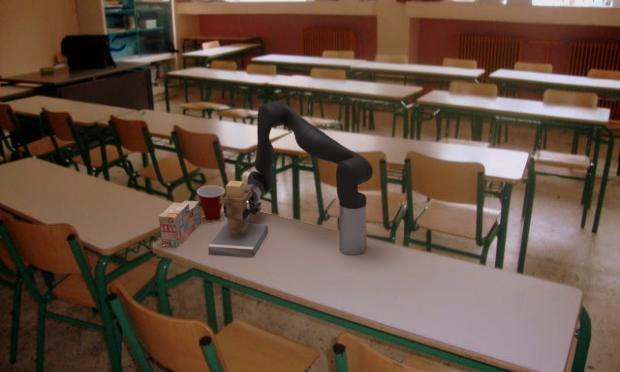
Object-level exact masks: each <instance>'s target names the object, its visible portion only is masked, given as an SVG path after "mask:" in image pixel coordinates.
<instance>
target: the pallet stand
mask: <svg viewBox="0 0 620 372" xmlns="http://www.w3.org/2000/svg"><path fill="white" fill-rule="evenodd" d="M251 195H252V190H251V189H245V195H244V196H243V198H242V199H239V198H227V195H226V190H225V192H224V193H223V194H222V195H221V197H220V198H219V201H220V203H221V204H223V205H224V204H226V208H227V222H228V231H229V233H242V234H244V232H245V231H246V229H247V228H248V224H249V219H248V218H249V216H248V217H247V218H245V219H243V212H244V211H245V209H246V208H247V201H248V200H249V198H250V197H251Z"/></svg>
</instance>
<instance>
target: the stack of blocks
mask: <svg viewBox="0 0 620 372" xmlns="http://www.w3.org/2000/svg"><path fill="white" fill-rule="evenodd" d="M200 207H201V206H200V201H199V200H198V201H197V200H184V201H182V202H172V203H171V204H170V205H169V206H168V207H167V208H166V209H165V210H164V211H163V212H161V213H160V214H159V215H158V222H159V229H160V235H161V243H162V245H165V246H170V247H169V248H177V247H178V248H179V247H181V245H182V244H184V242H186V240H188V238H189V237H190V234H191V235H192V233H194V231H196V229H197V228H199V226H200V225H201V224H202V216H201V215H202V214H201V208H200ZM165 246H164V247H165Z"/></svg>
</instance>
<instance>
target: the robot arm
mask: <svg viewBox="0 0 620 372" xmlns="http://www.w3.org/2000/svg"><path fill="white" fill-rule="evenodd" d="M256 122H257V123H256V125H257V126H256V127H257V128H256V129H257V130H256V131H257V132H256V134H257V135H256V137H257V146H256V147H257V148H256V153H255V158H254V159H255V160H254V169H255V170H256V171H255V170H254V171H251V172H250V173H249V174H248V176H247V183H246V185H244V189H251V190H252V195H251V197H250V198H249V200H248V201H247V208H246V209H245V211H244V212H243V219H245V218H247V217H248V218H249V216H251V215H253V216H255V215H256V214H257V213H259V212H260V211H261V210H262V202H261V201H259V200H260V198H261V196H262V195H263V193H268V192H270V191H271V190H272V189H273V187H274V176H273V163H274V159H275V150H274V146H273V144H272V142H271V140H270V135H271V131H272V129H273V128H277V127H280V126H284V127H286V128H287V129H289V130H290V131H291V132H293V135H294V139H295V142H296V144H297V146H298V147H299V148H300V149H302V151H304V152H305V153H307V154H308V155H309V156H310V157H313V158H316V159H318V160H322V161H326V162H329V163H334V164H336V165H337V166H336V169H335V170H336V171H335V179H336V181H335V182H336V195H337V199H338V207H339V209H338V211H339V212H338V216H339V217H338V218H339V221H338V222H339V223H338V224H339V225H338V230H339V233H338V236H339V239H338V240H339V241H338V243H339V246H338V247H339V251H340V252H341V253H343V254H346V255H351V256H352V255H353V256H354V255H356V256H357V255H359V254H361V255H362V254H365V253H366V249H367V237H368V236H367V233H368V232H367V227H368V226H367V225H368V223H367V196H366V195H365V194H364V193H362V192H360V191H359V187H358V186H359V185H362V184H364V183H366V182H368V181H369V180H371V178H372V177H373V174H374V170H373V167H372V164H371V163H370V161H369V160H368V159H367V158H366V157H364V156H362V155H361V154H359V153H357V152H355V151H353V150H351V149H349V148H348V147H347V146H344V145H342V144H341V143H339V142H338V141H337V140H335V139H333V138H331V136H329V135H328V134H326V133H325V132H323V131H322V130H320V129H319V128H318V127H317V126H315V125H313V124H312V123H310V122H309V121H307V119H305V118H303V117H302V116H301V115H299V114H298V113H297V112H296V111H295V110H294V109H293V108H292V107H290V105H288V104H287V103H286V102H284V101H282V100H276V101H275V100H274V101H271V102H267V103H264V104H261V105H260V106H259V107H258V110H257V120H256ZM222 207H223V214H224V217H225V219H226V218H227V208H226V204H223V206H222Z"/></svg>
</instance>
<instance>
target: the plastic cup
mask: <svg viewBox="0 0 620 372" xmlns="http://www.w3.org/2000/svg"><path fill="white" fill-rule="evenodd" d="M225 191H226V189H225V188H224V187H221V186H218V185H210V184H209V185H204V186H201V187H199V188H198V189H197V190H196V193H197V195H198V197H199V200H200V201H199V202H200V203H201V204H200V205H201V207H202V211H203V215H204V218H205V219H206V220H207V221H217V220H219V219H220V218H221V213H222V212H221V211H222V204H221V203H220V201H219V198H220V197H221V195H222V194H223V193H224V192H225Z"/></svg>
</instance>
